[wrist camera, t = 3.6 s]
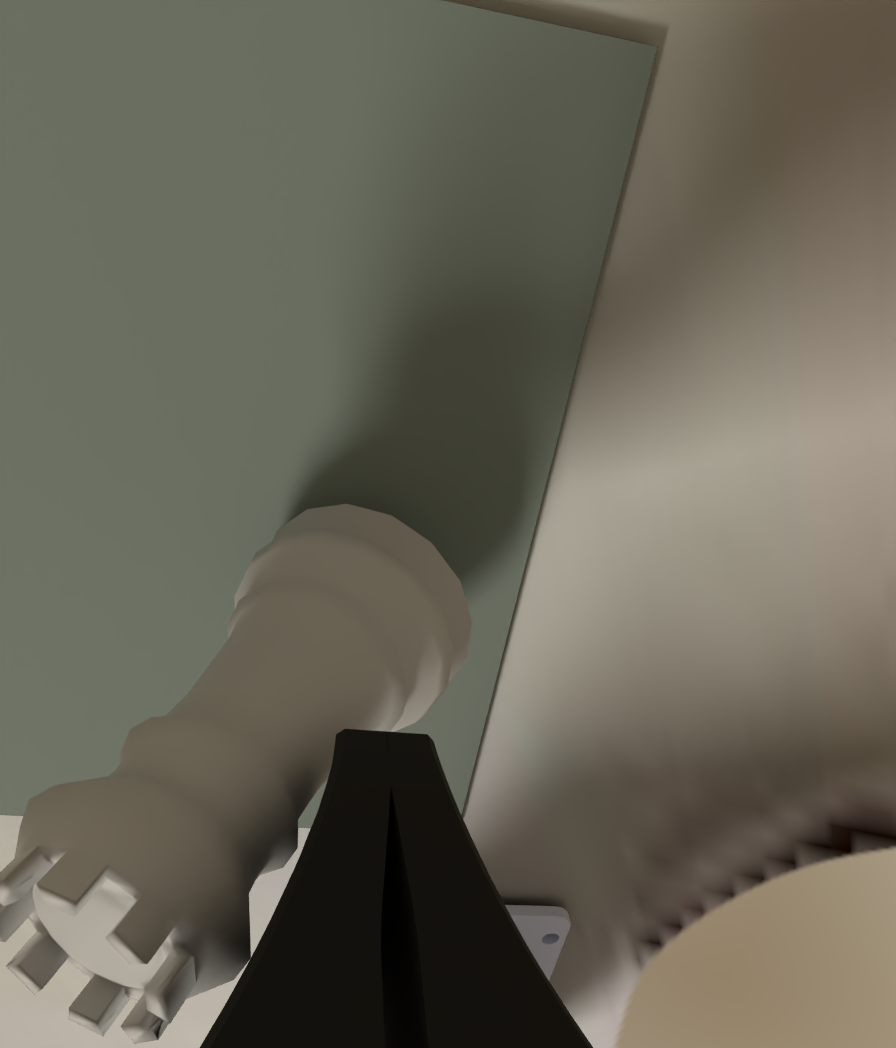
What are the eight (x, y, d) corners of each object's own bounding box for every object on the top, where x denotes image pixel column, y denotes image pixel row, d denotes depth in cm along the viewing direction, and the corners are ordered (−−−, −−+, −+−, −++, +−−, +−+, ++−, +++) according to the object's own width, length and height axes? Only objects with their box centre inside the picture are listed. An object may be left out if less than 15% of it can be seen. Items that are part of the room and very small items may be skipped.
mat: (455, 824, 20) (456, 834, 20) (-207, 795, 18) (-215, 805, 17) (651, 48, 12) (658, 46, 12) (-560, -214, 9) (-586, -224, 9)
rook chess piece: (258, 630, 16) (-78, 966, 10) (296, 456, 14) (-111, 736, 7) (441, 722, 16) (219, 1150, 9) (512, 555, 13) (286, 962, 7)
